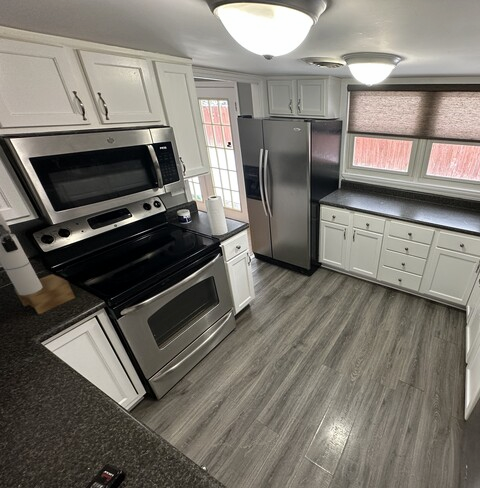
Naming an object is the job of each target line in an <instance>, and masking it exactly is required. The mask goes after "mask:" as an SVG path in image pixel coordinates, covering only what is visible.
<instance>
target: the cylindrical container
mask: <svg viewBox="0 0 480 488" xmlns="http://www.w3.org/2000/svg"><path fill="white" fill-rule="evenodd" d="M10 236H11V237H12V239H13V240H14V242H15V244H16V246H17V248H18V250H15V251H11V252H6V251H5V249H4V247H3V245H2V244H1V243H2V241H1V240H0V265H1V266H2V268H3V270H4V271H5V273H6V274H7V277H8V278H9V280H10V281H11V284H12V285H13V287H14V288H16V290H17V292H18V293H19V295H29V294H32V293H35V292H37V291H39V290H41V289H42V285H41V283H40V281H39V279H40V278H39V277H38V275H37V274H36V271H35V269H34V268H33V266H32V264H31V263H30V260H29V259H28V257H27V255H26V252H25V251H24V249H23V247H22V245H21V243H20V242H19V239H18V238H17V236H16V234H15V233H10ZM3 237H4V236H3ZM3 237H2V238H3Z"/></svg>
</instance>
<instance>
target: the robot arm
mask: <svg viewBox="0 0 480 488" xmlns="http://www.w3.org/2000/svg"><path fill="white" fill-rule="evenodd" d="M0 209H2V205H0ZM10 234H12V231H11V229H10V227H9V224H8V223H7V221H6V220H5V218H4V216H3V214H2V213H1V212H0V240H1V241H2V243H1V244H2V245H3V247H4V249H5V251H6V252H11V251H15V250H18V248H17V246H16V244H15V242H14V240H13V239H12V237H11V236H10ZM3 236H4V237H3ZM2 237H3V238H2Z"/></svg>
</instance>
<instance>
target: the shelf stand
mask: <svg viewBox="0 0 480 488" xmlns="http://www.w3.org/2000/svg"><path fill="white" fill-rule="evenodd" d="M38 279H39V281H40V283H41V285H42V289H41V290H39V291H37V292H35V293H32V294H29V295H19V293H18V292H17V290H16V288H15V287H14V288H13V290H14V292H15V294H16V295H17V296H18V297H17V298H18V299H19V300H20V302H21V304H22V305H23V306H24V307H27V306H31V307H32V308H34V310H35V312H36V314H38V315H41V314H44V313H45V312H48V311H49V310H53V309H54V308H57V307H58V306H61V305H62V304H65V303H68V302H69V301H71V300H73V299H76V296H75V294H74V292H73V289H72V288H71V286H70V283H69V280H66V279H64V278H61V277H60V276H57V275H55V274H53V273H52V274H49V275H46V276H43V277H41V278H38Z"/></svg>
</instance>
